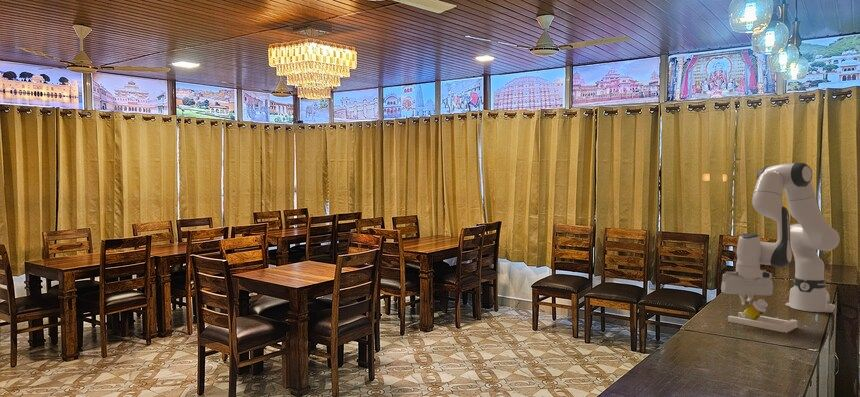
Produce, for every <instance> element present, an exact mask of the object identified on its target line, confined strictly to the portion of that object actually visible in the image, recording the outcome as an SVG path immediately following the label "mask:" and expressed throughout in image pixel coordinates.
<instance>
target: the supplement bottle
mask: <svg viewBox="0 0 860 397" xmlns="http://www.w3.org/2000/svg"><path fill="white" fill-rule="evenodd" d="M768 306H769V304H768V302H766V301H765V300H764V299H762V298H759V299H757V300H754V301H753V302H751V303H750V305H748V306H747V307H746V308H745V309H744V311H743V313H742V316H743V318H745V319H751V320H757V319H758V318H759V317H760V316H763V314H764V313H765V312H766V311H767V307H768Z"/></svg>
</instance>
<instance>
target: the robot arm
mask: <svg viewBox="0 0 860 397" xmlns="http://www.w3.org/2000/svg"><path fill="white" fill-rule="evenodd" d="M812 179H813V171H812V168H811V166H809V165H808V164H807V163H806V162H805V163H804V162H795V163H794V162H793V163H792V162H789V163H787V162H786V163H781V164H776V165H767V166H764V167H761V168H760V169H759V170H758V172H757V174H756V183H755V186H754V189H753V193H752V199H751V205H752V207H753V209H754V210H755V211H756V213H758V214H760V215H762V216H763V217H766V218H768V219H771V220H773V221H775V222H776V224H777V225H776V226H777V227H776V228H777V233H776V234H777V240H776V242H770V241H762V240H761V237H760V235H759V234H757V233H751V232H749V233H742V234H740V235H739V237H738V239H737V240H738V241H737V247H736V258H737V260H736V262H735V271H725V272H724V273H723V274H722V275H721V276H722V278H721V280H722V281H721V286H720V290H721V292H722V293H723V294H725V295H727V294H728V295H729V294H730V295H738V297H739V298H740V300H741V305H742V306H750V305H751V302H752V300H753V299H754V296H772V294H773V293H774V291H773V290H774V285H773V284H774V282H773V279H772V277H773V274H772V273H771V272H768V271H765V270H763V269H761V265H765V266H773V267H777V268H784V267H786V266H788V265H789V264H791V262H792V259H793V258H794V269H795V271H794V273H795V274H794V277H793V287H792V286H791V288H790V289H789V297H788V298H789V299H788V302H786V303H785V306H787V307H789V308H792V309H794V310H799V311H804V312H811V313H833V312H834V310H835V309H836V304H832V303H831V301H830V294H829V292H828V290H827V289H826V284H827V283H826V282H827V280H826V278H825V263H824V261H823V259H821V257H820V256H819V255H818V253H817V251H832V250H835V249H836V248H837V247H838V246H839V244H840V239H841V238H840V234H839V232H838V231H837V230H836V229H834V228H833V227H832V226H831V225H829V223H828V222H827V221H826V219H825V217H824V216H823V214H822V213H821V210H820V209H819V204H818V201H817V197H816V192H815V189H814V187H813V183H812ZM784 192H785V199H786V202H787V205H788V206H787V207H788V208H787V207H785V206H784V204H783V194H784ZM790 216H791V217H792V218H793V219H794V220H795V221H797V223H795V224H791V223H790ZM792 257H793V258H792ZM746 296H747V297H748V298H747V299H745V298H746Z"/></svg>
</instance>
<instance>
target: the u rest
mask: <svg viewBox="0 0 860 397" xmlns="http://www.w3.org/2000/svg"><path fill="white" fill-rule="evenodd" d="M743 312H744V311H743ZM743 312H741V311H739V312H737V316H733V315H728V316H727V322H729V323H733V324H734V323H735V324H739V325H744V326H749V327H754V328H759V329H765V330H770V331H774V332H775V331H776V332H781V333H784V332H785V334H787V333H790V332H791V331H793V330H795V329H796V328H798V320H797V319H792V318H791V319H789V320H787V319H781V318H776V317H772V316H771V317H769V316H765V315H761V316H760V317H759V318H758V319H757V320H751V319H745V318H743V316H742V313H743Z"/></svg>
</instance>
